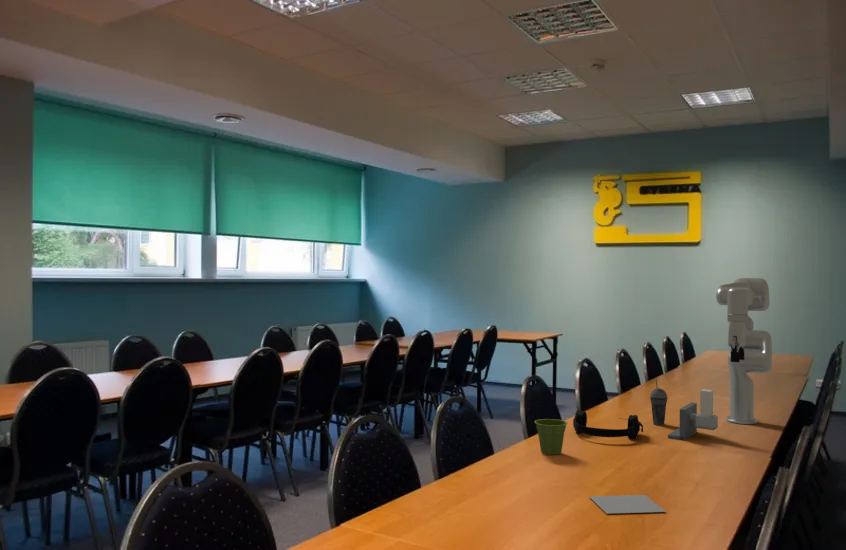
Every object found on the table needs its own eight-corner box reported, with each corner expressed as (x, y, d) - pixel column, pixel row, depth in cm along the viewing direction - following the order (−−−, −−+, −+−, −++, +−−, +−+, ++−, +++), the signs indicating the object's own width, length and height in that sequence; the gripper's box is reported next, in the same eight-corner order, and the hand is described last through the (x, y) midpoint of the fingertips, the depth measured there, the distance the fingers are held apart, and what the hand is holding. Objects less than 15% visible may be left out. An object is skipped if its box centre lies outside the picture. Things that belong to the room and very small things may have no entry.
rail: (702, 424, 266) (702, 389, 266) (713, 425, 264) (713, 390, 264) (700, 425, 263) (700, 390, 263) (710, 427, 261) (710, 391, 261)
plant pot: (569, 450, 244) (569, 419, 244) (565, 458, 233) (565, 426, 233) (537, 447, 248) (537, 417, 248) (531, 455, 237) (531, 424, 237)
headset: (630, 428, 282) (630, 407, 282) (655, 443, 256) (655, 420, 256) (565, 428, 280) (565, 408, 280) (584, 444, 254) (584, 421, 254)
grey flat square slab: (578, 488, 201) (578, 486, 201) (657, 486, 203) (657, 484, 203) (606, 516, 178) (606, 513, 178) (695, 513, 180) (695, 510, 180)
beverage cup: (668, 426, 284) (668, 379, 284) (651, 425, 286) (651, 379, 286) (666, 422, 291) (666, 377, 291) (648, 422, 293) (648, 376, 293)
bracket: (680, 429, 278) (680, 401, 278) (720, 435, 269) (721, 405, 269) (667, 437, 264) (667, 407, 264) (710, 443, 254) (710, 412, 254)
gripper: (732, 317, 277) (732, 358, 277) (722, 319, 263) (722, 362, 263) (751, 318, 273) (751, 359, 273) (743, 320, 259) (743, 363, 259)
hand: (737, 360), depth 268 cm, fingers open, 9 cm apart
